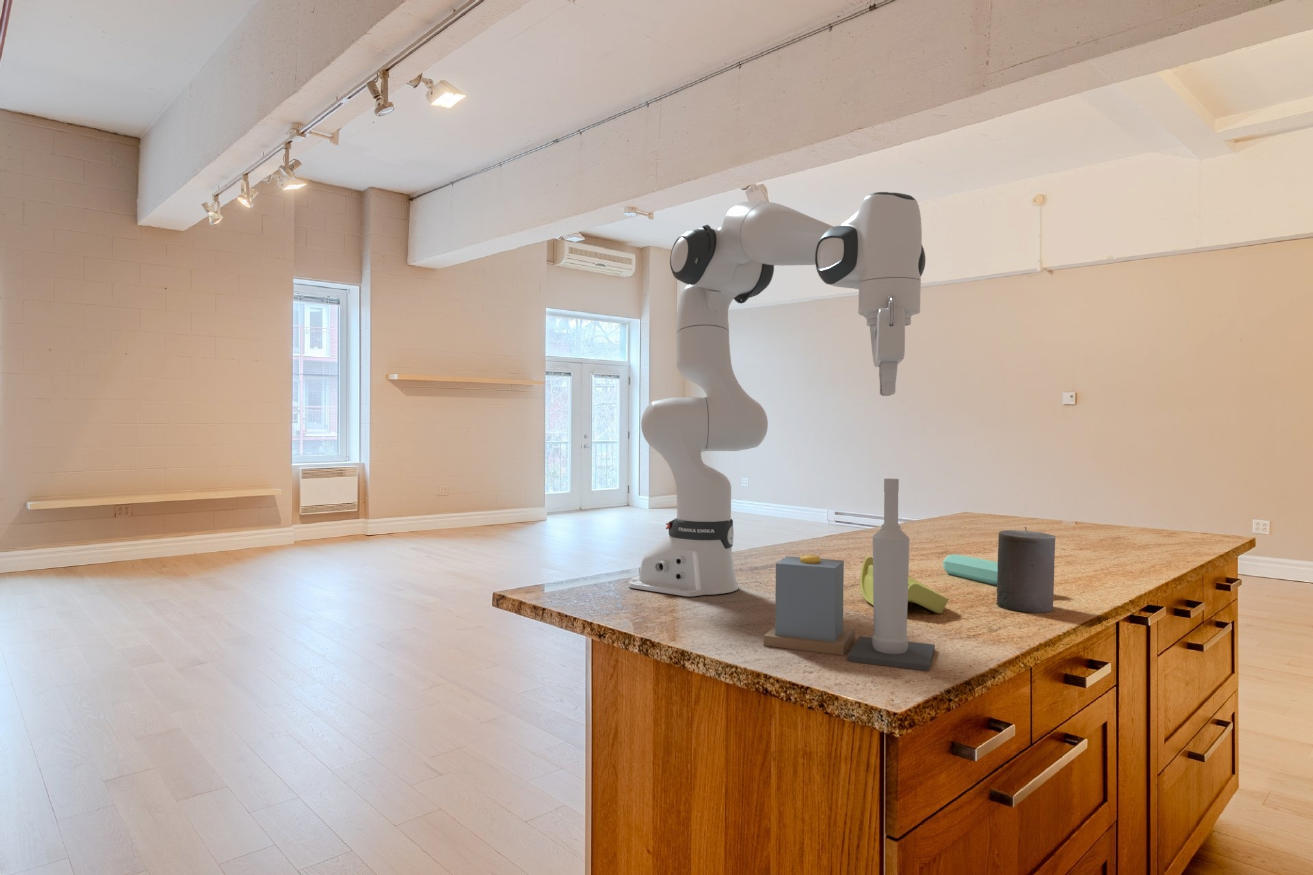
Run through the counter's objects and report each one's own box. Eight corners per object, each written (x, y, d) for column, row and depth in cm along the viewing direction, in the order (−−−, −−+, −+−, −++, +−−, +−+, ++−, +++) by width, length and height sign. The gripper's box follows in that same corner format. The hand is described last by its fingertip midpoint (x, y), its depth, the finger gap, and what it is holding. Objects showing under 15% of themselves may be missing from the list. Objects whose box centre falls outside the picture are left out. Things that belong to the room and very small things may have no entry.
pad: (847, 660, 111) (847, 655, 111) (859, 641, 121) (859, 636, 121) (928, 671, 107) (928, 665, 107) (934, 649, 117) (934, 644, 117)
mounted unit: (763, 645, 119) (764, 558, 119) (780, 629, 128) (781, 548, 128) (843, 655, 114) (844, 564, 114) (854, 638, 123) (855, 554, 123)
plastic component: (954, 602, 139) (907, 579, 137) (935, 639, 139) (888, 616, 137) (902, 572, 159) (861, 552, 157) (886, 604, 159) (844, 585, 157)
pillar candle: (988, 607, 145) (990, 526, 144) (1005, 598, 152) (1008, 521, 152) (1045, 616, 138) (1047, 532, 138) (1060, 606, 146) (1062, 526, 145)
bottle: (898, 656, 111) (899, 480, 110) (865, 649, 114) (866, 479, 114) (914, 649, 115) (916, 479, 114) (882, 642, 118) (883, 477, 118)
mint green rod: (942, 547, 178) (1034, 563, 155) (960, 555, 180) (1054, 573, 157) (934, 571, 177) (1025, 592, 154) (953, 580, 179) (1046, 601, 156)
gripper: (916, 291, 105) (914, 394, 106) (906, 310, 125) (904, 396, 126) (868, 292, 107) (866, 394, 107) (866, 310, 127) (864, 396, 127)
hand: (887, 395), depth 117 cm, fingers open, 8 cm apart
